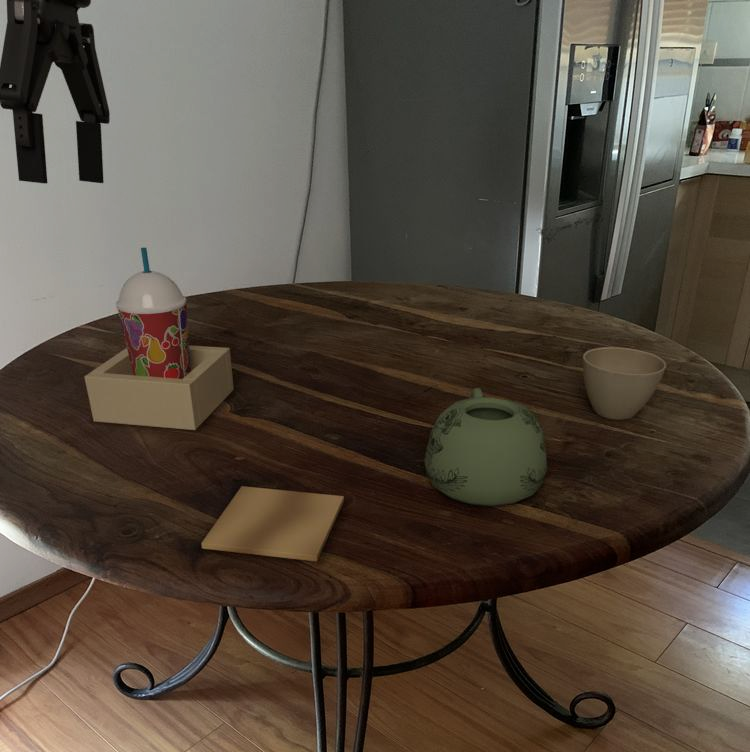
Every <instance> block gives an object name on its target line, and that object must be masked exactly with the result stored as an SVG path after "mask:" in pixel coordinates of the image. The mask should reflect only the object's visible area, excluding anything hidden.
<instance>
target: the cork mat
mask: <svg viewBox="0 0 750 752" xmlns="http://www.w3.org/2000/svg"><path fill="white" fill-rule="evenodd" d="M344 502H345V496H344V495H335V494H325V493H316V492H315V493H314V492H304V491H294V490H285V489H275V488H264V487H256V486H255V487H254V486H245V485H243V486H242V485H241V487H240V488H239V489H238V491H237V492H236V494H235V495H234V496H233V498H232V499H231V500H230V502H229V503H228V505H227V506H226V507H225V509H224V510H223V512H222V513H221V514H220V516H219V518H218V519H217V520H216V522H215V523H214V525H213V526H212V527H211V529H210V530H209V532H208V533H207V535H206V536H205V538H204V539H203V540H202V542H201V549H203V550H213V551H222V552H228V553H229V552H230V553H240V554H245V555H246V554H247V555H248V554H249V555H257V556H264V557H273V558H283V559H291V560H300V561H308V562H309V561H310V562H318V561H319V559H320V557H321V554H322V551H323V549H324V548H325V545H326V543H327V541H328V538H329V536H330V533H331V531H332V528H333V527H334V525H335V522H336V520H337V518H338V515H339V513H340V511H341V509H342V506H343V504H344Z"/></svg>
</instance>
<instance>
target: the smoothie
mask: <svg viewBox="0 0 750 752" xmlns="http://www.w3.org/2000/svg"><path fill="white" fill-rule="evenodd" d="M140 252H141V259H142V260H141V261H142V266H143V270H142V271H139V272H137V273H134V274H132V275H131V276H130V277H129V278H128V279H127V280H125V282H124V284H123V285H122V287H121V289H120V292H119V295H118V300H116V302H115V306H116V309H117V312H118V316H119V321H120V324H121V328H122V333H123V337H124V341H125V345H126V348H127V350H128V354H129V358H130V362H131V367H132V371H133V375H135V376H148V377H161V378H175V379H183V378H184V377H185V376H186V375H188V374H189V373H190V372H191V367H190V352H189V345H190V339H189V338H190V337H189V324H188V323H189V322H188V321H189V320H188V309H187V306H188V305H187V301H188V300H187V297H186V296H185V295H183V293H182V291H181V289H180V288H179V286H178V285H177V284H176V282H175V281H174V280H173V279H171V278H170V277H169V276H167V275H165V274H164V273H162V272H159V271H156V270H150V269H151V268H150V263H149V256H148V250H147V247H140Z"/></svg>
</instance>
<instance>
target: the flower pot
mask: <svg viewBox="0 0 750 752" xmlns="http://www.w3.org/2000/svg"><path fill="white" fill-rule="evenodd" d="M666 368H667V363H666V361H665V360H664V359H663V358H661V357H659V356H658V355H655V354H654V353H650V352H647V351H643V350H641V349H640V350H639V349H635V348H629V347H618V346H607V347H606V346H604V347H596V348H591V349H589V350H587V351H585V352H584V353H583V355H582V375H583V381H584V386H585V391H586V395H587V397H588V400H589V402H590V404H591V407H592V409H593V411H594V412H595V414H597V415H598V416H600V417H603V418H605V419H608V420H609V419H610V420H616V421H624V420H629V419H631V418H633V417H635V416H636V415H637V414H638V413H639V411H641V410H642V409H643V408H644V406H645V405H646V404H647V403H648V401H650V399H651V397H652V396H653V395H654V393H655V391H656V390H657V388H658V386H659V384H660V382H661V381H662V378H663V376H664V373H665V371H666Z"/></svg>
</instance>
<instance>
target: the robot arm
mask: <svg viewBox="0 0 750 752" xmlns="http://www.w3.org/2000/svg"><path fill="white" fill-rule="evenodd" d="M91 3H92V0H6V21H7V22H6V26H5V27H6V28H5V34H4V39H3V40H4V41H3V45H2V51H1V58H0V107H1V108H2V109H4V110H10V111H11V110H12V119H13V120H12V121H13V132H14V141H15V143H14V144H15V152H16V163H17V164H16V166H17V174H18V181H20V182H25V183H26V182H28V183H36V184H48V171H47V159H46V158H47V157H46V146H45V145H46V143H45V131H44V117H43V113H37V110H38V106H39V103H40V101H41V97H42V94H43V92H44V89H45V85H46V83H47V80H48V76H49V75H50V71H51V68H52V65H53V63H54V65H55V66H56V67H57V68H59V69H60V70H61V72H62V75H63V78H64V81H65V83H66V86H67V88H68V91H69V93H70V96H71V98H72V99H71V100H72V101H73V104H74V107H75V110H76V111H77V115H78V117H79V120H75V129H76V147H77V163H78V180H79V182H87V183H97V184H104V183H105V182H104V160H103V141H102V140H103V139H102V124H103V125H105V124H106V125H109V124H110V115H111V113H110V108H109V103H108V99H107V93H106V89H105V85H104V82H103V77H102V73H101V67H100V63H99V58H98V55H97V50H96V41H95V30H94V26H93V24H91V23H83V22H80V19H79V14H78V11H79V10H80V9H81V8H82V9H86V8H88V7H89V6H91Z"/></svg>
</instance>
